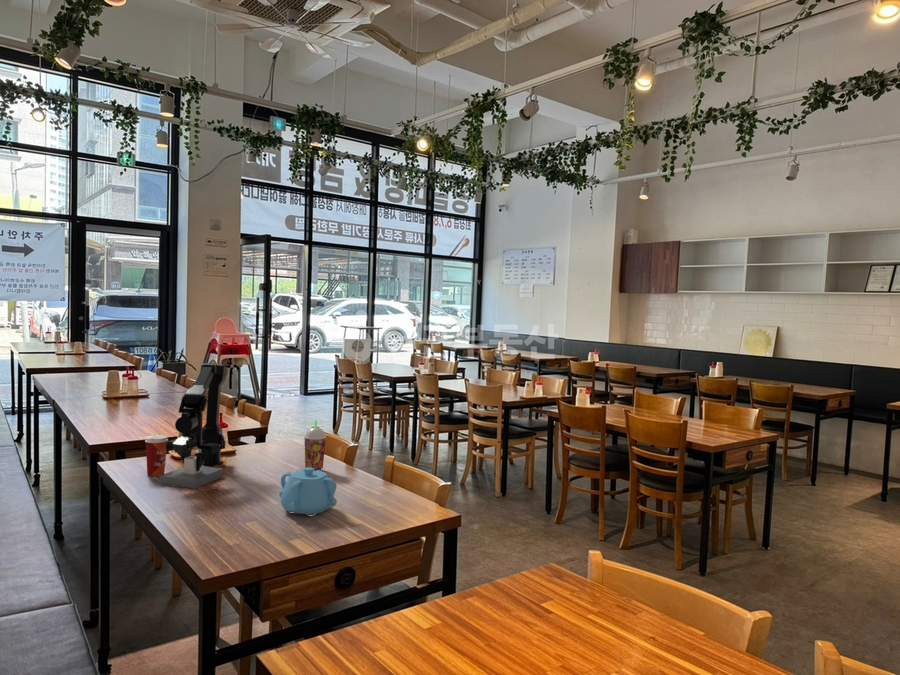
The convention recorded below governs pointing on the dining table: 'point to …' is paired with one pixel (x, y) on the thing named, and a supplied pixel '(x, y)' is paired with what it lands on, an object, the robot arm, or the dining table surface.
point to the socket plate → (191, 477)
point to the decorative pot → (307, 491)
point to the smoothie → (314, 448)
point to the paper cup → (156, 454)
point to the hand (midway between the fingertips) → (192, 470)
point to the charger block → (190, 465)
